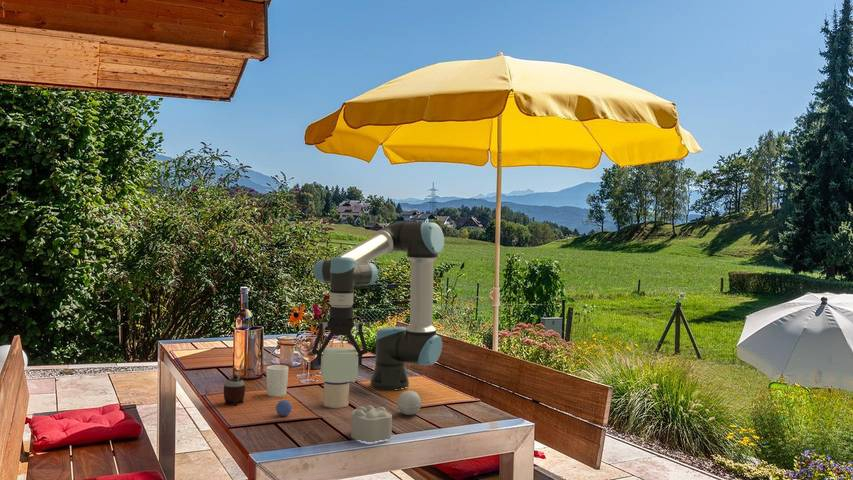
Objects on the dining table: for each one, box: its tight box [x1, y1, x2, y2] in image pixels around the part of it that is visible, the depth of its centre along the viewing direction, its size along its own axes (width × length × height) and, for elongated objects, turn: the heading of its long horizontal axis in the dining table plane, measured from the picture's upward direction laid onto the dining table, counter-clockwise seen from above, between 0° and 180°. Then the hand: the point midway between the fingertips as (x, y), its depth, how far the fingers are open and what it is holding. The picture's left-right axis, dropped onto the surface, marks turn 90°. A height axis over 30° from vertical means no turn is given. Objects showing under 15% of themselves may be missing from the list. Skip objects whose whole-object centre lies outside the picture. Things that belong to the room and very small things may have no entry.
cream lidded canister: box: [323, 382, 350, 409], centre depth 230 cm, size 12×9×12 cm
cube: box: [322, 346, 358, 383], centre depth 210 cm, size 10×10×9 cm
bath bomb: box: [397, 390, 422, 416], centre depth 220 cm, size 8×8×8 cm
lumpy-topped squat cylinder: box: [350, 404, 393, 442], centre depth 196 cm, size 10×13×9 cm
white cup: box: [265, 364, 290, 397], centre depth 240 cm, size 8×8×10 cm
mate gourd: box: [223, 356, 246, 407], centre depth 227 cm, size 8×8×15 cm
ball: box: [275, 399, 293, 417], centre depth 214 cm, size 5×5×5 cm
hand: (339, 375), depth 210 cm, fingers closed on cube, 10 cm apart
